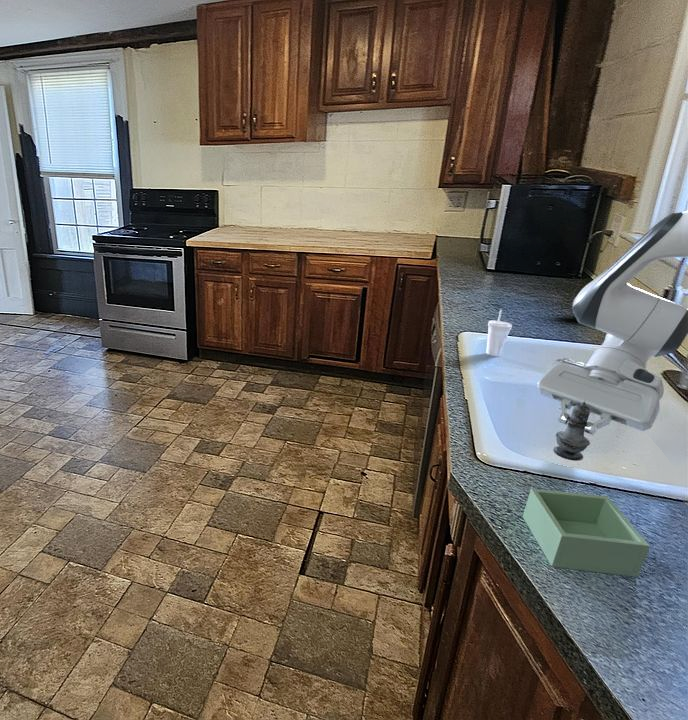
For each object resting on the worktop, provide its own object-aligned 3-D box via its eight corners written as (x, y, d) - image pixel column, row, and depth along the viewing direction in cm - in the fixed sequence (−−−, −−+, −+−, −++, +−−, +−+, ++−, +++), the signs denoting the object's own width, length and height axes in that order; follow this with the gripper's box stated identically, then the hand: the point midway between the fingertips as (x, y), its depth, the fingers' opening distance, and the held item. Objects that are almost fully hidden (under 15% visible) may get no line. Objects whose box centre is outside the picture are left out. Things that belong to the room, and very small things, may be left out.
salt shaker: (548, 453, 108) (563, 401, 103) (554, 443, 112) (570, 392, 107) (582, 465, 104) (599, 411, 100) (587, 453, 108) (604, 401, 104)
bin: (597, 525, 88) (607, 496, 85) (637, 577, 77) (650, 546, 75) (522, 516, 89) (530, 488, 87) (551, 566, 79) (561, 535, 77)
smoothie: (483, 348, 164) (493, 305, 158) (506, 353, 160) (517, 308, 155) (479, 354, 159) (489, 310, 154) (503, 359, 155) (514, 314, 150)
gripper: (554, 348, 113) (519, 400, 111) (672, 382, 97) (632, 443, 96) (559, 363, 117) (525, 413, 115) (673, 398, 101) (635, 456, 100)
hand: (575, 427), depth 105 cm, fingers closed on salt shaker, 3 cm apart
